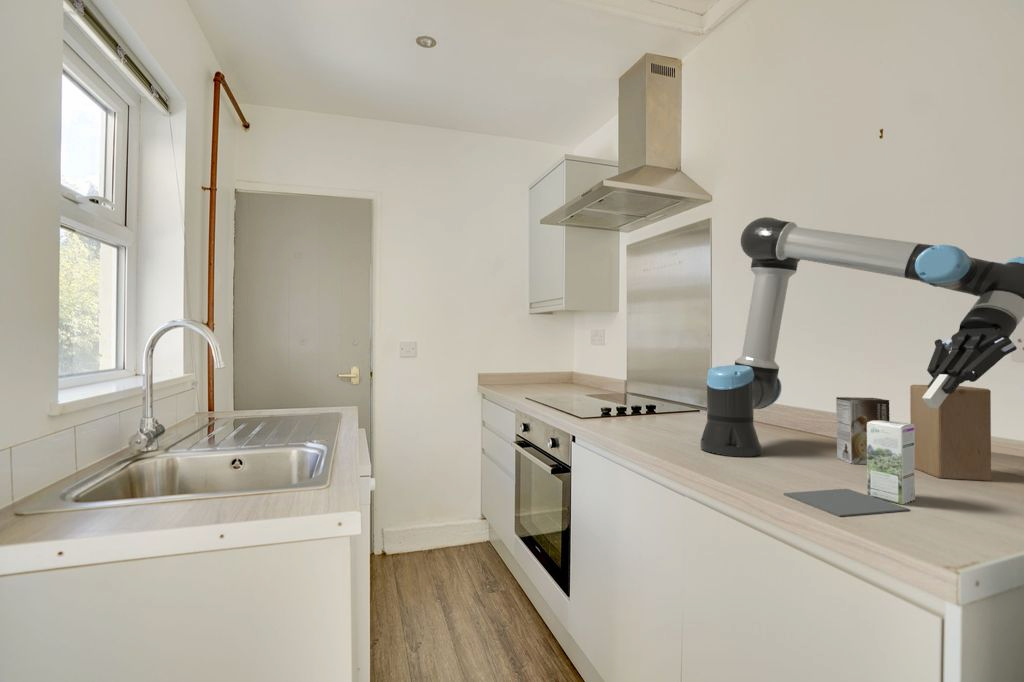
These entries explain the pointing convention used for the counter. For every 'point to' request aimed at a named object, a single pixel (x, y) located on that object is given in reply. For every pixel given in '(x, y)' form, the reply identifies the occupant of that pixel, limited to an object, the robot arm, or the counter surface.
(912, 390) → the wooden block
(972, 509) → the counter surface
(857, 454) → the coffee box
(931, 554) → the counter surface
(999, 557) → the counter surface
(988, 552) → the counter surface
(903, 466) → the syrup box
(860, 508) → the mat
